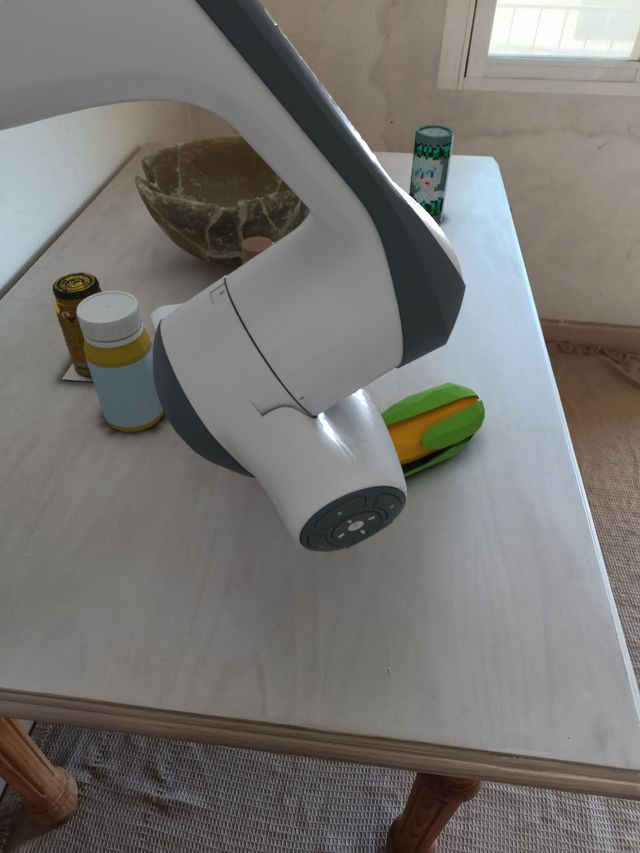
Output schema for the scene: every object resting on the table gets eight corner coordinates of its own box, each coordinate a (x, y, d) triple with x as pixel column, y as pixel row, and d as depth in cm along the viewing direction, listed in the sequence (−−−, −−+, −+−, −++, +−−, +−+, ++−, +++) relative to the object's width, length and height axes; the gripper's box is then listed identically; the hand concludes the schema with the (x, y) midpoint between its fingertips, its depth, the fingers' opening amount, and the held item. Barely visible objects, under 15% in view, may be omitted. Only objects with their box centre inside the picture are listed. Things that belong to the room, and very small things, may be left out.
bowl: (136, 302, 92) (114, 203, 82) (163, 221, 112) (148, 133, 102) (323, 300, 93) (324, 201, 83) (318, 219, 113) (318, 132, 102)
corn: (509, 390, 66) (352, 464, 58) (498, 445, 71) (352, 519, 63) (461, 358, 71) (310, 422, 63) (454, 411, 76) (313, 476, 68)
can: (404, 222, 112) (413, 134, 102) (411, 208, 116) (420, 122, 106) (437, 227, 111) (450, 139, 101) (444, 213, 115) (456, 126, 105)
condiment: (83, 346, 84) (58, 266, 76) (145, 350, 84) (126, 269, 76) (62, 380, 79) (33, 297, 71) (127, 384, 78) (105, 302, 70)
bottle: (122, 444, 71) (89, 333, 61) (95, 412, 75) (60, 303, 64) (176, 417, 74) (154, 309, 64) (148, 388, 78) (122, 281, 68)
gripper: (422, 315, 49) (365, 236, 58) (154, 356, 45) (141, 264, 54) (413, 379, 53) (362, 295, 63) (168, 422, 49) (153, 325, 59)
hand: (257, 281), depth 58 cm, fingers closed on lid, 3 cm apart
